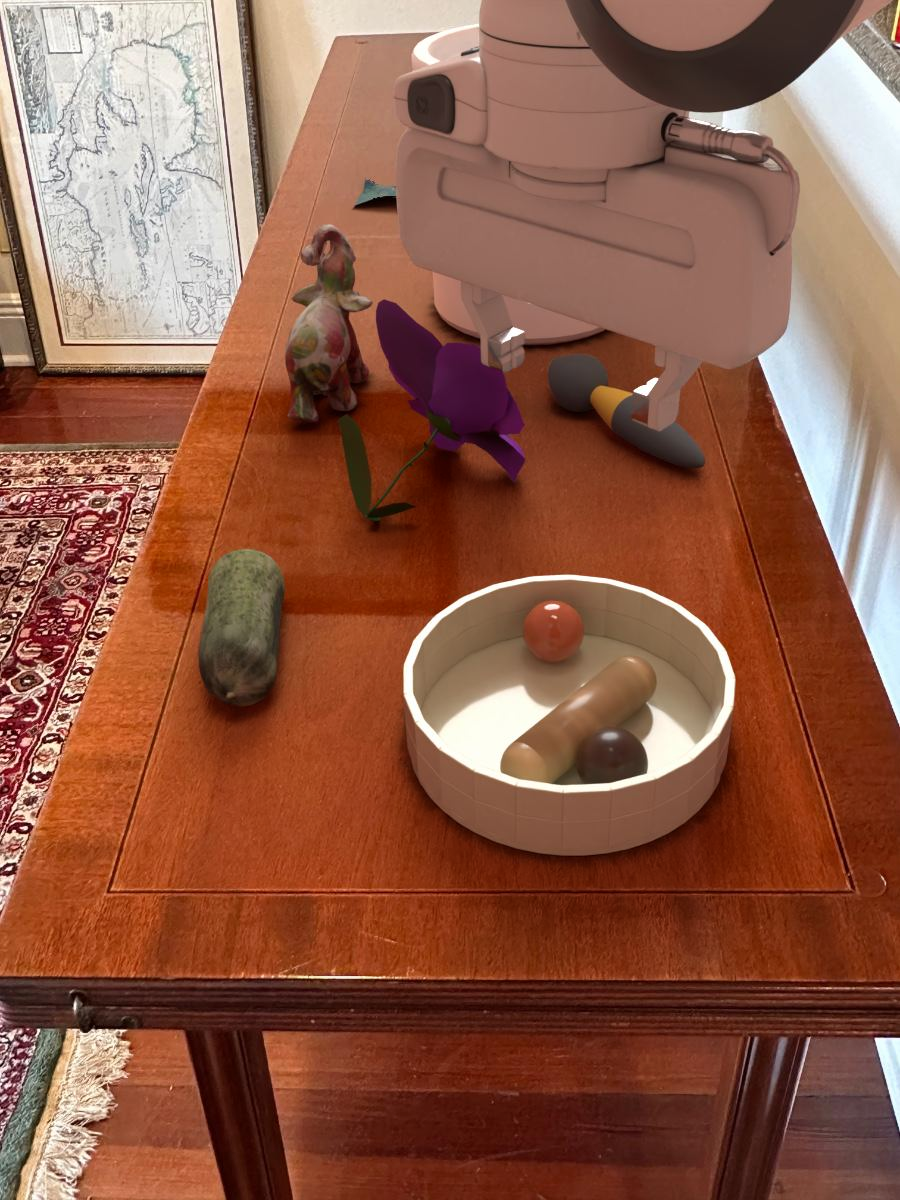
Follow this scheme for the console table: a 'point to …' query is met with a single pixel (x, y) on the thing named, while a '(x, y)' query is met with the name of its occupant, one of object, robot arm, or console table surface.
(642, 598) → the bowl
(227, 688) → the vegetable
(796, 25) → the robot arm
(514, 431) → the flower
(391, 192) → the terrain model
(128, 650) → the console table surface
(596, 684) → the stick
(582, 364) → the paintbrush
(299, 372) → the figurine
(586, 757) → the bead walnut
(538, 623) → the bead terracotta
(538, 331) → the pot
